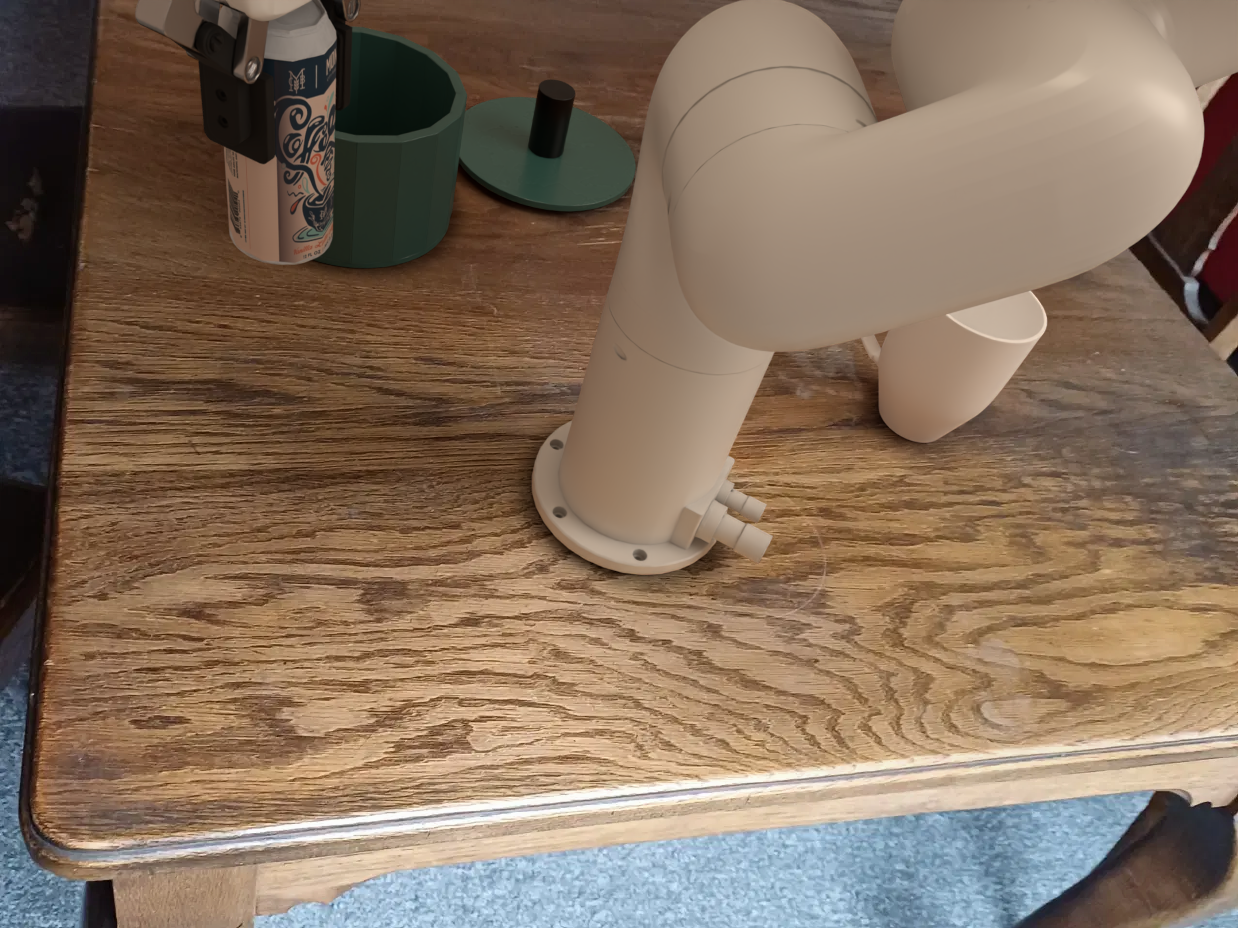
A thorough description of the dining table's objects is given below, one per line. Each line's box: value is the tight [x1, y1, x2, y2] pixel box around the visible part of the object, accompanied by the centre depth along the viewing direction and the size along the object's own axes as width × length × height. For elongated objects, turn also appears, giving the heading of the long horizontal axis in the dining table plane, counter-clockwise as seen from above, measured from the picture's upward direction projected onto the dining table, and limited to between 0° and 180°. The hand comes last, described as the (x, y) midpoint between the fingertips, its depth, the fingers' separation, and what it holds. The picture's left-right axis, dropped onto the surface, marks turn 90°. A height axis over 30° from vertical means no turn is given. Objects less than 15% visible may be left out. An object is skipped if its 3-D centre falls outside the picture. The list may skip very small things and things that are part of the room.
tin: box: [311, 25, 468, 269], centre depth 78 cm, size 15×15×10 cm
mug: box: [860, 290, 1048, 444], centre depth 76 cm, size 12×9×12 cm
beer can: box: [218, 0, 337, 266], centre depth 48 cm, size 5×5×12 cm
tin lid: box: [458, 78, 637, 212], centre depth 89 cm, size 16×16×7 cm
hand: (279, 118), depth 48 cm, fingers closed on beer can, 4 cm apart
